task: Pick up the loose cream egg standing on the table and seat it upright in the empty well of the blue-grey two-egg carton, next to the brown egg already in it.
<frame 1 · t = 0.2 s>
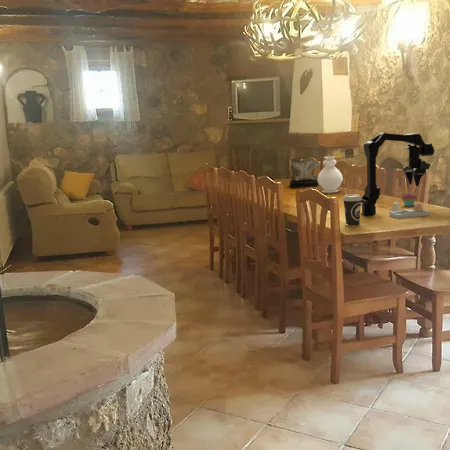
hand: (413, 185, 295), 14 cm above the table, tool pointing down, fingers open, 9 cm apart
coffee cup: (352, 225, 272), on the table
decorative vase: (330, 191, 385), on the table
cream egg: (396, 213, 294), on the table
cupcake: (409, 205, 313), on the table
egg carton: (409, 216, 282), on the table
brown egg: (418, 214, 283), point 1 cm above the table, touching egg carton
coral: (305, 186, 419), on the table
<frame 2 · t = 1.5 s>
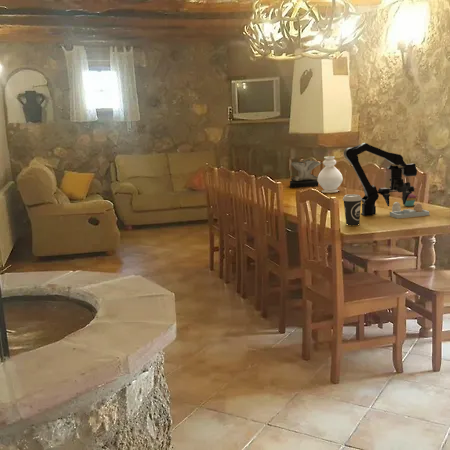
hand: (396, 205, 293), 4 cm above the table, tool pointing down, fingers open, 9 cm apart
nothing on the table moved.
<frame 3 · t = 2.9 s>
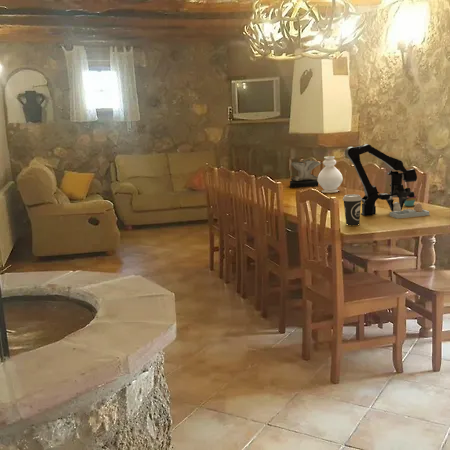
hand: (396, 210, 293), 1 cm above the table, tool pointing down, fingers closed on cream egg, 5 cm apart
cream egg: (396, 213, 294), on the table, touching gripper
everything else where it was.
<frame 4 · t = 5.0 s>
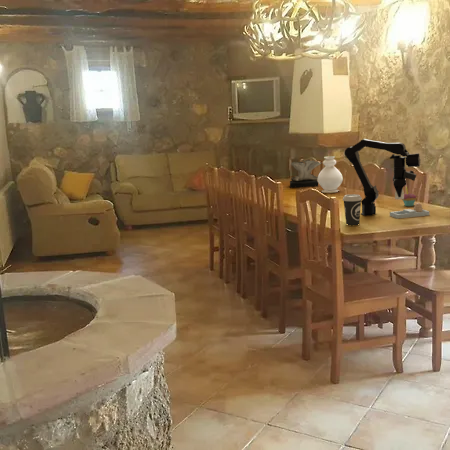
hand: (399, 196, 284), 10 cm above the table, tool pointing down, fingers closed on cream egg, 5 cm apart
cream egg: (399, 198, 285), point 9 cm above the table, touching gripper
everything else where it was.
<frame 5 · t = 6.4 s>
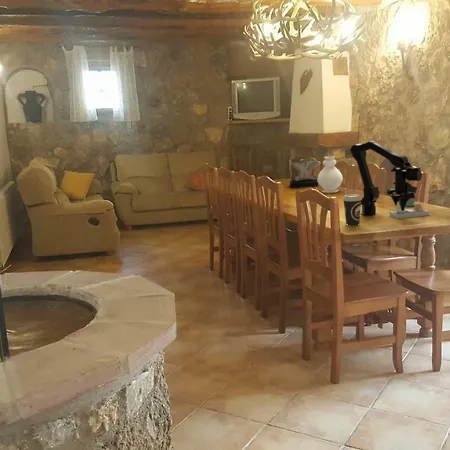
hand: (400, 209, 281), 4 cm above the table, tool pointing down, fingers closed on cream egg, 5 cm apart
cream egg: (400, 212, 281), point 3 cm above the table, touching gripper
everything else where it was.
when the fingers open (4 cm above the table, at t = 7.3 s): cream egg drops 2 cm, resting on egg carton.
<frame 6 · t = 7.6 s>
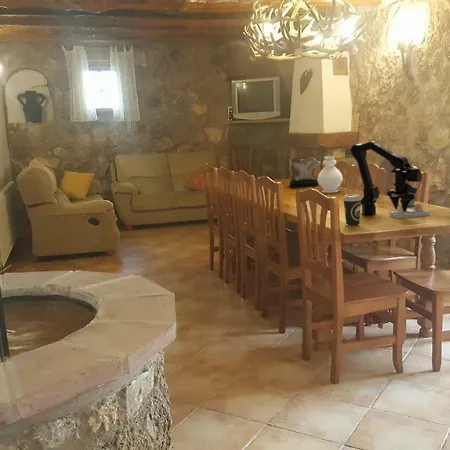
hand: (400, 210, 281), 4 cm above the table, tool pointing down, fingers open, 8 cm apart
cream egg: (400, 216, 281), point 1 cm above the table, touching egg carton
everything else where it was.
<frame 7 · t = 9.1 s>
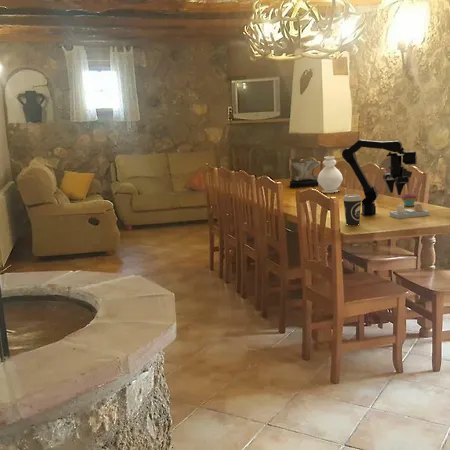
hand: (395, 193, 286), 12 cm above the table, tool pointing down, fingers open, 9 cm apart
nothing on the table moved.
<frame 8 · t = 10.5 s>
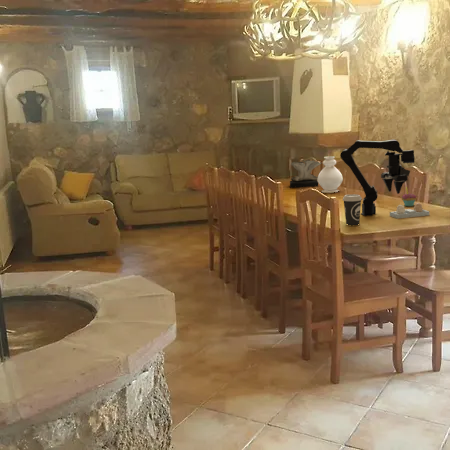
hand: (394, 192, 288), 12 cm above the table, tool pointing down, fingers open, 9 cm apart
nothing on the table moved.
at the end: cream egg 0.1 cm from the target spot on the egg carton, point 0.6 cm above the egg carton's base; cream egg tilted 0°; brown egg moved 0.0 cm from its start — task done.
